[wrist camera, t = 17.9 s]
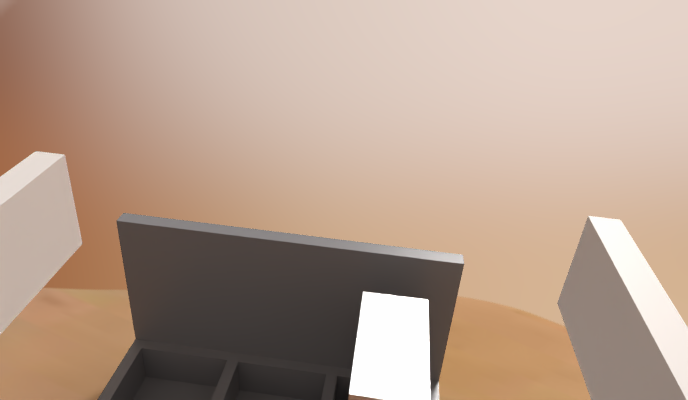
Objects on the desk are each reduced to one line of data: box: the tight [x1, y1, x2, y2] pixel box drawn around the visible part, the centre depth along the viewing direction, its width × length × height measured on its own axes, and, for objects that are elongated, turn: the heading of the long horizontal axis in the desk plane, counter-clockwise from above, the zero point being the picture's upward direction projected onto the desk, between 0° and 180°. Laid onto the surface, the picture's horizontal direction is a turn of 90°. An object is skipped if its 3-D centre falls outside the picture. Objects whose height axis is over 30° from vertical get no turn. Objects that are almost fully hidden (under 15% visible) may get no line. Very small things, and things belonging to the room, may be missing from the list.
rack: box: [98, 213, 464, 400], centre depth 34 cm, size 23×14×14 cm, turn 83°
